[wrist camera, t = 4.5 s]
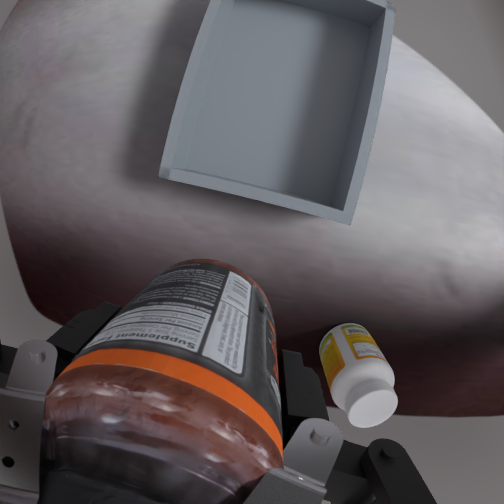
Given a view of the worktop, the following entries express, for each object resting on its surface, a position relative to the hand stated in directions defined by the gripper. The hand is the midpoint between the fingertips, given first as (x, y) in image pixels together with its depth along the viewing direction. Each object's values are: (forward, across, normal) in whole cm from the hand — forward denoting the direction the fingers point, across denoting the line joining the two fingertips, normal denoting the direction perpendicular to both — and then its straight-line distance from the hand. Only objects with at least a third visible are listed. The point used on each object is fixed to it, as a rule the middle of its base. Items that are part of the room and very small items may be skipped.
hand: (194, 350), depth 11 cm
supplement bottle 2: (+16, -13, +7) cm, 22 cm away
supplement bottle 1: (+3, 0, 0) cm, 3 cm away
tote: (+16, -1, -14) cm, 21 cm away
